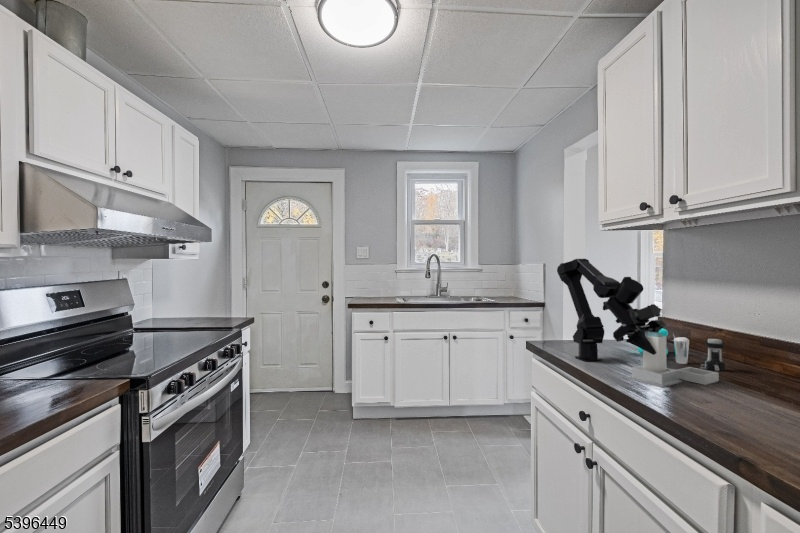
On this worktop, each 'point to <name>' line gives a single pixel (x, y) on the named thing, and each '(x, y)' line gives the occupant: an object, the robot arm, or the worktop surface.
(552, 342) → the worktop surface
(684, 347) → the milkshake
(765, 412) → the worktop surface
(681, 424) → the worktop surface
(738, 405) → the worktop surface
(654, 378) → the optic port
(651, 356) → the plug
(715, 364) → the black and grey device
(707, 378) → the grey square tray
